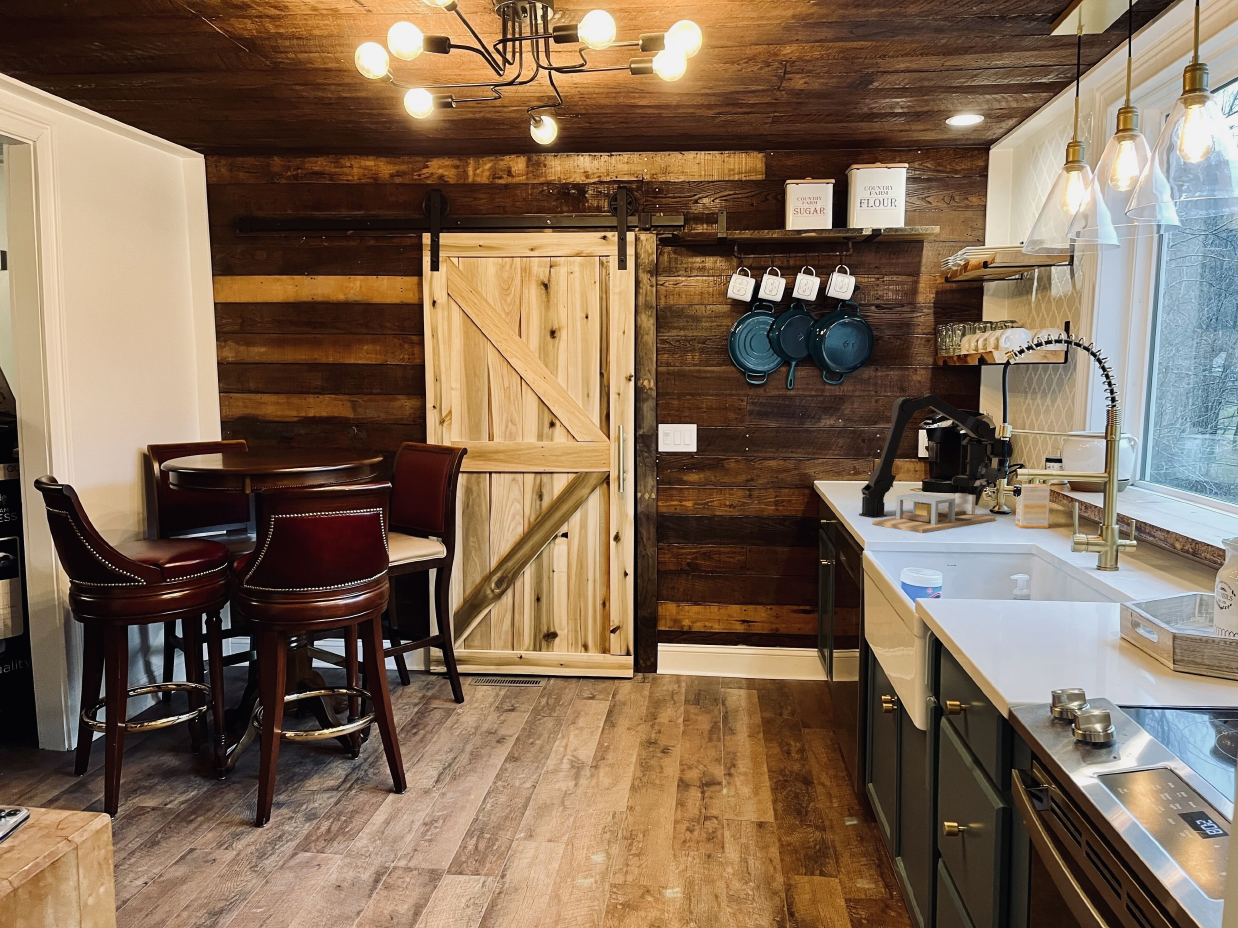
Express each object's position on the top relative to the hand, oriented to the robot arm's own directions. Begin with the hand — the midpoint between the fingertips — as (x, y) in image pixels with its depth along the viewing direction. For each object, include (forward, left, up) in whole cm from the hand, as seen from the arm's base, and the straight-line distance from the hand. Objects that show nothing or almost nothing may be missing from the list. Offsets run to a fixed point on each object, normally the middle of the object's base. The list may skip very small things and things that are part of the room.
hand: (975, 505), depth 285 cm
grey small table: (0, -27, -4) cm, 27 cm away
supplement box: (+22, -5, -4) cm, 23 cm away
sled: (0, -18, -2) cm, 18 cm away
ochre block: (0, -27, -1) cm, 27 cm away
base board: (0, -22, -4) cm, 22 cm away
